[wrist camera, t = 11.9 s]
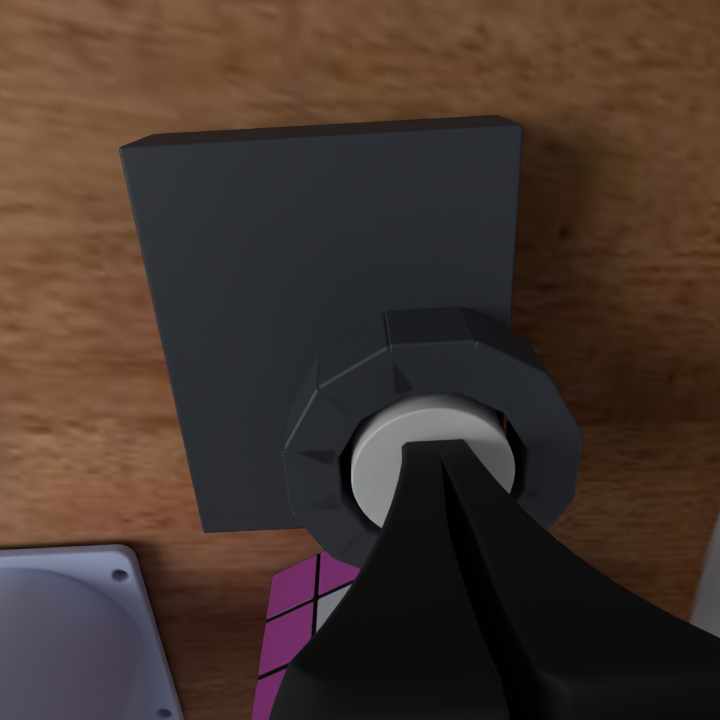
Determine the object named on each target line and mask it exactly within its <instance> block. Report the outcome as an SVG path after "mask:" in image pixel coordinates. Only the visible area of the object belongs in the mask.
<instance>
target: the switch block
mask: <svg viewBox="0 0 720 720" xmlns="http://www.w3.org/2000/svg"><path fill="white" fill-rule="evenodd" d="M523 130H524V128H523V125H521V124H519V123H516V122H513V121H511V120H508V119H506V118H503V117H501V116H498V115H490V116H472V117H454V118H436V119H418V120H401V121H383V122H365V123H347V124H329V125H311V126H293V127H275V128H258V129H240V130H222V131H204V132H186V133H168V134H152V135H150V136H147V137H145V138H142V139H139V140H137V141H134V142H132V143H129V144H127V145H124V146H122V147H120V149H119V152H120V156H121V161H122V165H123V170H124V174H125V179H126V184H127V188H128V193H129V197H130V202H131V206H132V211H133V215H134V220H135V224H136V229H137V233H138V238H139V242H140V247H141V251H142V256H143V260H144V265H145V270H146V274H147V279H148V283H149V288H150V292H151V297H152V301H153V306H154V310H155V315H156V319H157V324H158V328H159V333H160V337H161V342H162V346H163V351H164V355H165V360H166V365H167V369H168V374H169V378H170V383H171V387H172V392H173V396H174V401H175V405H176V410H177V414H178V419H179V423H180V428H181V432H182V437H183V441H184V446H185V450H186V455H187V460H188V464H189V469H190V473H191V478H192V482H193V487H194V491H195V496H196V500H197V505H198V509H199V514H200V518H201V523H202V527H203V531H204V533H215V532H235V531H256V530H276V529H296V528H305V529H306V530H307V531H308V532H309V533H310V534H311V535H312V536H313V538H314V539H315V540H316V541H317V542H318V543H319V544H320V545H321V546H322V547H323V549H324V550H325V551H326V552H327V553H328V554H329V555H330V556H331V557H332V558H335V559H336V560H337V561H340V562H343V563H345V564H348V565H351V566H354V567H356V568H359V569H361V568H362V566H363V565H364V563H365V561H366V559H367V557H368V555H369V554H370V552H371V550H372V548H373V546H374V544H375V542H376V540H377V537H378V535H379V533H380V531H381V527H379V526H378V525H377V524H375V523H374V522H373V521H372V520H370V519H369V518H368V516H367V515H366V514H365V513H364V512H363V511H362V509H361V508H360V506H359V505H358V503H357V501H356V499H355V496H354V493H353V490H352V483H351V436H352V434H353V432H354V431H355V429H356V427H357V426H358V424H359V422H360V421H361V420H362V419H364V418H365V417H367V416H369V415H371V414H373V413H374V412H376V411H378V410H380V409H382V408H383V407H385V406H387V405H389V404H391V403H392V402H394V401H396V400H398V399H400V398H401V397H403V396H405V395H424V394H443V393H461V394H464V395H466V396H468V397H470V398H472V399H475V400H477V401H479V402H481V403H483V404H486V405H488V406H490V407H492V408H494V409H495V411H496V414H497V416H498V419H499V421H500V424H501V426H502V428H503V425H504V414H505V415H506V417H507V419H508V420H507V434H506V438H507V440H508V443H509V445H510V448H511V451H512V454H513V457H514V463H515V475H514V481H513V485H512V488H511V491H510V493H509V494H510V495H511V497H512V498H513V499H514V500H515V501H516V502H517V503H518V504H519V505H520V506H521V507H522V508H523V509H524V510H525V511H526V512H527V513H528V514H529V515H530V516H531V517H532V518H533V519H534V520H535V521H536V522H537V523H538V524H540V525H541V526H542V527H543V528H544V529H545V530H546V531H548V529H549V528H550V527H551V526H552V525H553V524H554V522H555V521H556V520H557V519H558V518H559V516H560V515H561V514H562V513H563V512H564V511H565V509H566V508H567V507H568V506H569V505H570V503H571V502H572V501H573V499H574V497H575V491H576V484H577V477H578V470H579V463H580V455H581V448H582V441H583V434H582V430H581V428H580V427H579V425H578V423H577V421H576V420H575V418H574V416H573V414H572V413H571V411H570V409H569V407H568V406H567V404H566V402H565V400H564V399H563V397H562V395H561V393H560V392H559V390H558V388H557V386H556V385H555V383H554V381H553V379H552V378H551V376H550V374H549V373H548V371H547V370H546V368H545V366H544V365H543V363H542V362H541V360H540V359H539V357H538V355H537V354H536V352H535V351H534V349H533V347H532V346H531V344H530V343H529V342H528V341H527V340H526V339H525V338H524V337H522V336H520V335H518V334H516V333H514V332H511V331H510V322H511V307H512V293H513V278H514V263H515V248H516V234H517V219H518V204H519V189H520V175H521V160H522V145H523Z"/></svg>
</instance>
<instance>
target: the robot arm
mask: <svg viewBox="0 0 720 720" xmlns="http://www.w3.org/2000/svg"><path fill="white" fill-rule="evenodd" d="M401 450H402V462H401V469H400V474H399V478H398V482H397V486H396V489H395V493H394V496H393V499H392V503H391V505H390V508H389V511H388V513H387V516H386V518H385V521H384V523H383V526H382V528H381V531H380V533H379V535H378V537H377V540H376V542H375V544H374V546H373V548H372V550H371V552H370V554H369V555H368V557H367V559H366V561H365V563H364V565H363V566H362V568H361V570H360V571H359V573H358V575H357V576H356V578H355V580H354V581H353V583H352V585H351V586H350V588H349V589H348V591H347V592H346V594H345V595H344V597H343V598H342V599H341V601H340V602H339V603H338V605H337V606H336V607H335V609H334V610H333V611H332V613H331V614H330V615H329V617H328V618H327V620H326V621H325V622H324V624H323V625H322V626H321V627H320V628H319V630H318V631H317V632H316V633H315V634H314V635H313V637H312V638H311V639H310V640H309V641H308V642H307V643H306V644H305V645H304V646H303V648H302V649H301V650H300V651H299V652H298V653H297V654H296V655H295V656H294V658H293V659H292V660H291V661H290V662H289V664H288V666H287V669H286V671H285V674H284V676H283V679H282V681H281V684H280V686H279V689H278V692H277V695H276V697H275V700H274V703H273V706H272V709H271V713H270V716H269V720H720V638H719V637H717V636H714V635H712V634H710V633H708V632H706V631H704V630H702V629H700V628H698V627H696V626H694V625H692V624H690V623H688V622H686V621H684V620H682V619H679V618H677V617H675V616H673V615H671V614H669V613H667V612H666V611H664V610H662V609H660V608H658V607H657V606H655V605H653V604H651V603H650V602H648V601H646V600H644V599H642V598H641V597H639V596H637V595H635V594H634V593H632V592H630V591H629V590H627V589H626V588H624V587H622V586H621V585H619V584H617V583H616V582H614V581H613V580H611V579H610V578H608V577H607V576H605V575H604V574H602V573H601V572H599V571H598V570H596V569H595V568H594V567H592V566H591V565H589V564H588V563H586V562H585V561H584V560H582V559H581V558H579V557H578V556H577V555H575V554H574V553H573V552H571V551H570V550H569V549H568V548H566V547H565V546H564V545H563V544H561V543H560V542H559V541H558V540H556V539H555V538H554V537H553V536H552V535H551V534H550V533H548V532H547V531H546V530H545V529H544V528H543V527H542V526H541V525H540V524H538V523H537V522H536V521H535V520H534V519H533V518H532V517H531V516H530V515H529V514H528V513H527V512H526V511H525V510H524V509H523V508H522V507H521V506H520V505H519V504H518V503H517V502H516V501H515V500H514V499H513V498H512V497H511V495H510V494H509V493H508V492H507V491H506V490H505V489H504V488H503V487H502V486H501V485H500V484H499V482H498V481H497V480H496V479H495V478H494V477H493V475H492V474H491V473H490V472H489V471H488V469H487V468H486V467H485V466H484V465H483V463H482V462H481V461H480V460H479V458H478V457H477V456H476V454H475V453H474V452H473V450H472V449H471V448H470V446H469V445H468V444H467V443H466V442H465V441H464V440H463V439H453V440H434V441H414V442H406V443H405V444H404V445H403V446H401ZM120 570H123V571H125V572H121V571H120ZM0 720H184V717H183V713H182V710H181V706H180V703H179V700H178V696H177V693H176V689H175V686H174V683H173V679H172V676H171V672H170V669H169V666H168V662H167V659H166V655H165V652H164V649H163V645H162V642H161V639H160V635H159V632H158V628H157V625H156V622H155V618H154V615H153V611H152V608H151V605H150V601H149V598H148V594H147V591H146V588H145V584H144V581H143V577H142V574H141V571H140V567H139V564H138V560H137V557H136V554H135V553H134V551H133V550H132V549H131V548H129V547H128V546H125V545H120V544H111V545H91V546H71V547H51V548H31V549H11V550H0Z"/></svg>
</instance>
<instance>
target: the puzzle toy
mask: <svg viewBox="0 0 720 720" xmlns="http://www.w3.org/2000/svg"><path fill="white" fill-rule="evenodd" d="M360 570H361V569H359V568H356V567H354V566H351V565H348V564H345V563H343V562H340V561H337V560H336V559H335V558H332V557H331V556H330V555H329V554H328V553H327V552H326V551H323V552H322V553H321V555H320V554H318V555H315V556H313V557H311V558H309V559H307V560H305V561H302V562H300V563H298V564H296V565H294V566H292V567H290V568H288V569H286V570H284V571H281V572H279V573H277V574H275V575H274V576H273V580H272V585H271V591H270V598H269V605H268V611H267V618H266V627H265V631H264V638H263V645H262V652H261V658H260V665H259V672H258V682H257V686H256V692H255V698H254V705H253V712H252V718H251V720H269V716H270V713H271V709H272V706H273V703H274V700H275V697H276V695H277V692H278V689H279V686H280V684H281V681H282V679H283V676H284V674H285V671H286V669H287V666H288V664H289V662H290V661H291V660H292V659H293V658H294V656H295V655H296V654H297V653H298V652H299V651H300V650H301V649H302V648H303V646H304V645H305V644H306V643H307V642H308V641H309V640H310V639H311V638H312V637H313V635H314V634H315V633H316V632H317V631H318V630H319V628H320V627H321V626H322V625H323V624H324V622H325V621H326V620H327V618H328V617H329V615H330V614H331V613H332V611H333V610H334V609H335V607H336V606H337V605H338V603H339V602H340V601H341V599H342V598H343V597H344V595H345V594H346V592H347V591H348V589H349V588H350V586H351V585H352V583H353V581H354V580H355V578H356V576H357V575H358V573H359V571H360Z"/></svg>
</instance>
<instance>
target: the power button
mask: <svg viewBox="0 0 720 720" xmlns="http://www.w3.org/2000/svg"><path fill="white" fill-rule="evenodd" d="M453 439H463V440H464V441H465V442H466V443H467V444H468V445H469V446H470V448H471V449H472V450H473V452H474V453H475V454H476V456H477V457H478V458H479V460H480V461H481V462H482V463H483V465H484V466H485V467H486V468H487V469H488V471H489V472H490V473H491V474H492V475H493V477H494V478H495V479H496V480H497V481H498V482H499V484H500V485H501V486H502V487H503V488H504V489H505V490H506V491H507V492H508V493H510V491H511V488H512V485H513V481H514V475H515V463H514V457H513V454H512V451H511V448H510V445H509V443H508V440H507V438H506V436H505V433H504V431H503V428H502V426H501V424H500V421H499V419H498V416H497V414H496V411H495V409H494V408H492V407H490V406H488V405H486V404H483V403H481V402H479V401H477V400H475V399H472V398H470V397H468V396H466V395H464V394H461V393H443V394H424V395H405V396H403V397H401V398H400V399H398V400H396V401H394V402H392V403H391V404H389V405H387V406H385V407H383V408H382V409H380V410H378V411H376V412H374V413H373V414H371V415H369V416H367V417H365V418H364V419H362V420H361V421H360V422H359V424H358V426H357V427H356V429H355V431H354V432H353V434H352V436H351V483H352V490H353V493H354V496H355V499H356V501H357V503H358V505H359V506H360V508H361V509H362V511H363V512H364V513H365V514H366V515H367V516H368V518H369V519H370V520H372V521H373V522H374V523H375V524H377V525H378V526H379V527H381V528H382V526H383V523H384V521H385V518H386V516H387V513H388V511H389V508H390V505H391V503H392V499H393V496H394V493H395V489H396V486H397V482H398V478H399V474H400V469H401V462H402V450H401V446H403V445H404V444H405V443H406V442H414V441H434V440H453Z"/></svg>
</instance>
